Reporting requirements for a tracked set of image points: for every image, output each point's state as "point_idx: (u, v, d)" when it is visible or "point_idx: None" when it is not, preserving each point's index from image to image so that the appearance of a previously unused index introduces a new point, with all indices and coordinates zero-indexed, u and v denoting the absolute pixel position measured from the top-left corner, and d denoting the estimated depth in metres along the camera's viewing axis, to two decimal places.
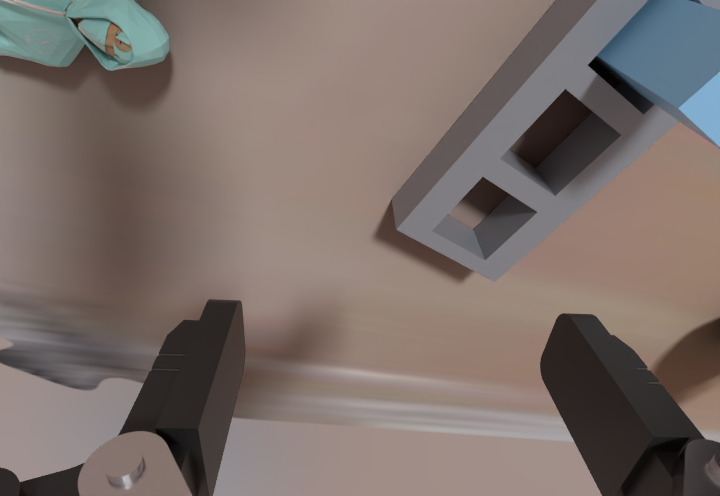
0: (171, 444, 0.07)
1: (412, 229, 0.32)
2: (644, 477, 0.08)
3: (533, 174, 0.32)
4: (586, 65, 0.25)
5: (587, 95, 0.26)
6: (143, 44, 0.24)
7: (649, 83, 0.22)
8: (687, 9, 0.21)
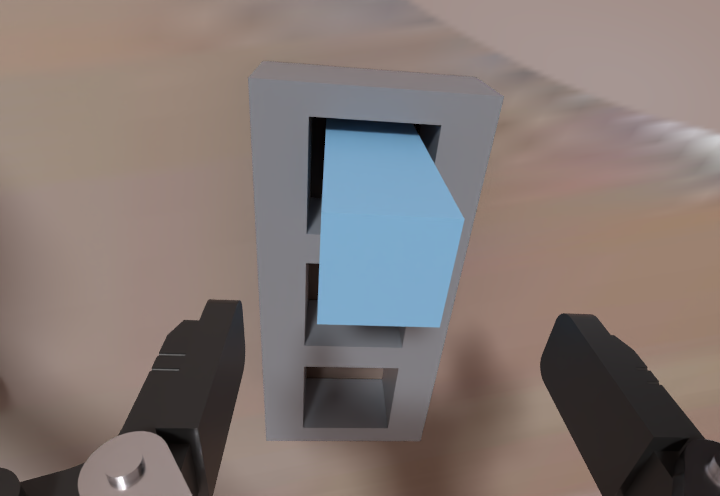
0: (171, 444, 0.07)
1: (282, 434, 0.28)
2: (644, 477, 0.08)
3: None
4: (305, 234, 0.20)
5: None
6: None
7: None
8: None
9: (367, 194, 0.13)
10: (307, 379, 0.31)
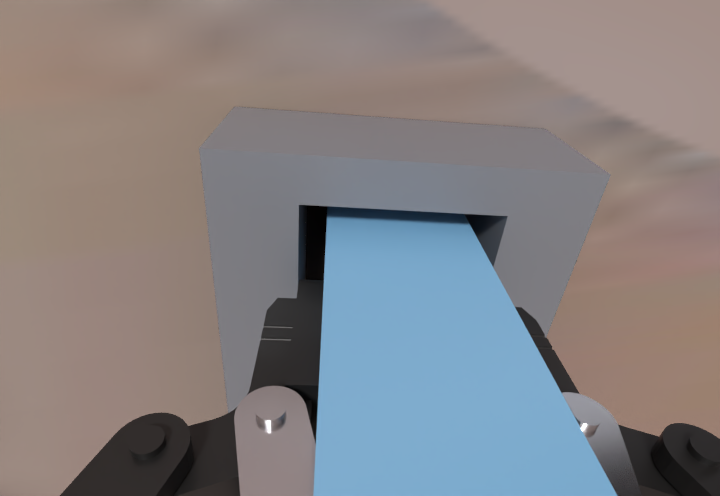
0: None
1: None
2: None
3: None
4: None
5: None
6: None
7: None
8: None
9: (406, 413, 0.07)
10: None
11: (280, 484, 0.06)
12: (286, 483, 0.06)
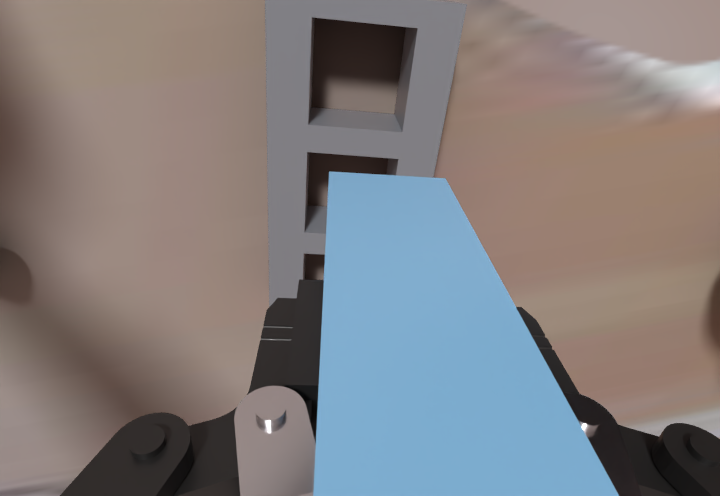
0: None
1: None
2: None
3: None
4: (307, 125, 0.25)
5: (333, 146, 0.25)
6: None
7: None
8: None
9: (406, 411, 0.07)
10: None
11: (279, 484, 0.06)
12: (286, 483, 0.06)
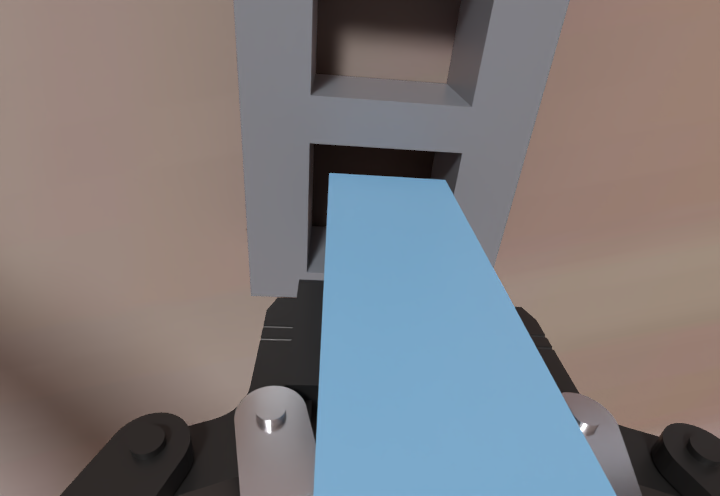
0: None
1: (275, 283, 0.18)
2: None
3: (423, 93, 0.16)
4: None
5: None
6: None
7: None
8: None
9: (406, 414, 0.07)
10: (313, 227, 0.21)
11: (280, 483, 0.06)
12: (286, 483, 0.06)
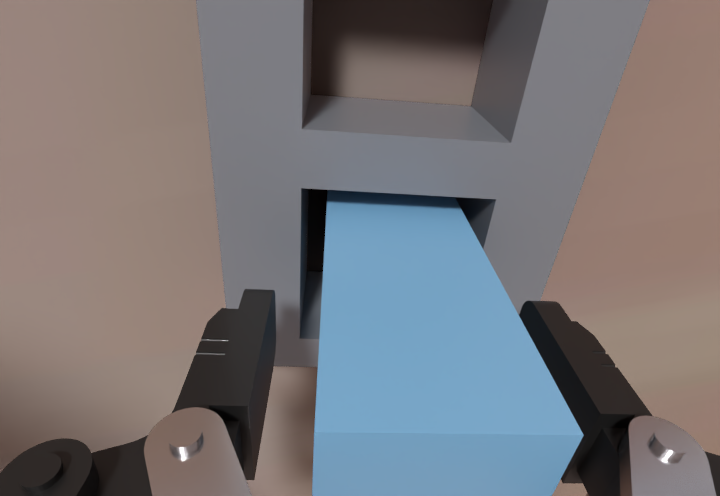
0: (222, 421, 0.08)
1: None
2: (594, 453, 0.08)
3: (446, 121, 0.13)
4: None
5: None
6: None
7: None
8: None
9: (397, 364, 0.07)
10: (309, 272, 0.18)
11: None
12: None
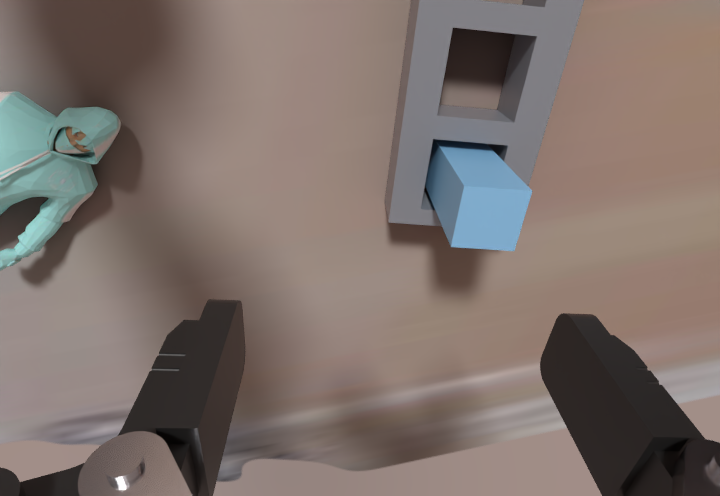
0: (171, 444, 0.07)
1: (402, 215, 0.34)
2: (644, 476, 0.08)
3: (488, 115, 0.32)
4: None
5: (477, 21, 0.27)
6: (88, 124, 0.29)
7: (443, 223, 0.29)
8: (446, 164, 0.29)
9: (481, 179, 0.26)
10: None
11: None
12: None
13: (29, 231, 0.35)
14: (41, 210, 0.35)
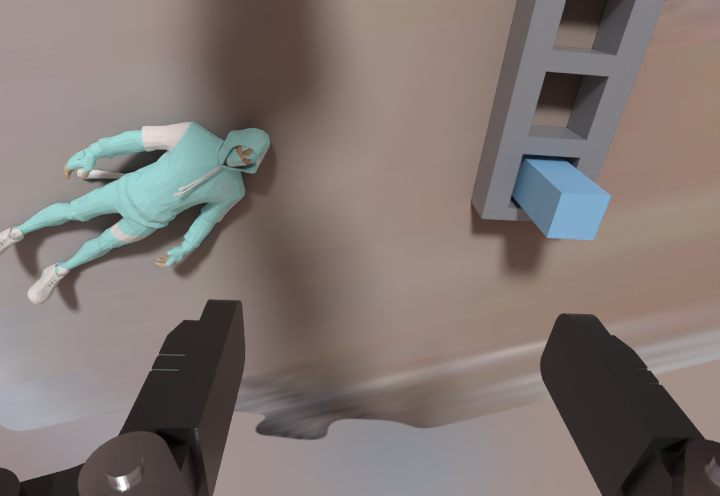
0: (171, 444, 0.07)
1: (493, 213, 0.42)
2: (644, 476, 0.08)
3: (563, 133, 0.40)
4: (551, 50, 0.35)
5: (565, 66, 0.36)
6: (253, 142, 0.38)
7: (534, 220, 0.38)
8: (536, 174, 0.38)
9: (570, 187, 0.35)
10: None
11: None
12: None
13: (193, 231, 0.44)
14: (202, 213, 0.43)
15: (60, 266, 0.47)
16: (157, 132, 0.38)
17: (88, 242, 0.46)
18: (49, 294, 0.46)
